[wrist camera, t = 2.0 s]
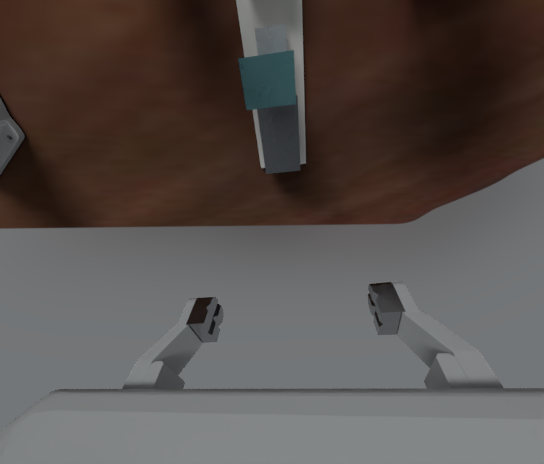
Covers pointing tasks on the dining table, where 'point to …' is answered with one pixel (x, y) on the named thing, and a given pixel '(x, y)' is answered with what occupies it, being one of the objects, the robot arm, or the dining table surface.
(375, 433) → the robot arm
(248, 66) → the teal oblong box
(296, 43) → the base board
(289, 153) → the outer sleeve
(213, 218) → the dining table surface
